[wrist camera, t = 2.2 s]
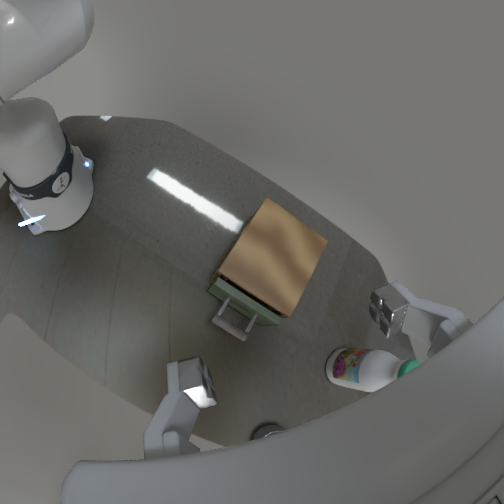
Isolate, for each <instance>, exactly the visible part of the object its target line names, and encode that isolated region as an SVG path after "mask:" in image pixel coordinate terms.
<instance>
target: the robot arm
mask: <svg viewBox="0 0 504 504" xmlns="http://www.w3.org/2000/svg"><path fill="white" fill-rule="evenodd" d="M93 25H94V10H93V6H92V4H91V2H90V0H0V168H1V169H2V170H3V172H4V173H3V175H4V176H5V177H6V179H7V180H8V181H10V186H9V190H10V192H11V193H10V194H9V196H10V198H11V199H12V200H13V202H14V203H16V205H17V207H18V209H19V211H20V213H21V215H22V216H23V218H24V220H25V221H24V222H21V223H19V226H24V225H26V224H27V226H28V227H29V229H30V231H31V232H32V233H33V234H34V235H38V234H40V233H43V232H45V231H48V230H53V231H55V230H62V229H65V228H67V227H69V226H71V225H73V224H74V223H75V222H77V221H78V220H79V219H80V218H81V217H82V216H83V215H84V213H85V212H86V210H87V209H88V207H89V205H90V203H91V200H92V196H93V181H92V172H93V168H94V163H93V161H92V160H91V159H89V158H86V157H84V156H83V155H82V153H81V151H80V149H79V147H77V146H76V147H75V146H73V145H71V143H70V141H69V139H68V138H67V136H66V135H65V133H64V132H63V131H62V130H61V127H60V125H59V122H58V119H57V117H56V114H55V111H54V109H53V107H52V106H51V105H50V104H49V103H48V102H46V101H44V100H42V99H39V98H34V97H29V98H23V99H17V100H9V99H10V98H11V97H13V96H14V95H16V94H17V93H19V92H20V91H21V90H23V89H24V88H26V87H27V86H29V85H30V84H32V83H34V82H35V81H37V80H39V79H40V78H42V77H43V76H45V75H47V74H49V73H50V72H52V71H53V70H55V69H56V68H57V67H59V66H60V65H61V64H63V63H64V62H66V61H67V60H68V59H69V58H71V57H73V56H74V55H75V54H76V53H78V52H80V51H81V50H82V49H83V48H84V47H85V45H86V43H87V42H88V40H89V38H90V35H91V32H92V29H93ZM33 223H34V225H33ZM32 225H33V226H32ZM370 299H371V300H372V302H371V303H370V305H369V312H370V315H371V317H372V319H373V320H374V322H375V323H378V324H380V329H381V330H382V332H383V333H384V334H385V335H386V337H387V338H388V337H390V336H392V335H394V334H396V333H398V332H399V331H401V332H403V333H405V334H407V335H410V336H412V337H414V338H416V339H418V340H420V341H423V342H425V343H427V344H429V345H431V347H430V349H429V351H428V354H427V356H428V357H429V359H428V360H426V361H425V362H423V363H422V364H420V365H419V366H417V367H415V368H414V369H412V370H411V371H409V372H408V373H406V374H404V375H403V376H401V377H399V378H398V379H396V380H394V381H393V382H391V383H389V384H387V385H386V386H384V387H382V388H380V389H378V390H376V391H375V392H373V393H371V394H369V395H367V396H365V397H363V398H361V399H359V400H357V401H355V402H353V403H351V404H349V405H347V406H344V407H342V408H340V409H338V410H336V411H333V412H331V413H329V414H326V415H324V416H322V417H319V418H317V419H314V420H312V421H309V422H307V423H304V424H301V425H299V426H296V427H293V428H290V429H287V430H284V431H282V432H278V433H275V434H272V435H269V436H266V437H262V438H259V439H256V440H252V441H248V442H245V443H241V444H237V445H233V446H228V447H224V448H219V449H215V450H210V451H204V452H200V448H198V447H197V446H195V445H194V444H192V443H191V442H189V438H190V435H191V433H192V430H193V428H194V425H195V422H196V420H197V417H198V414H199V412H200V409H201V408H205V407H209V406H213V405H216V404H217V400H216V395H215V391H214V390H213V389H212V385H213V380H212V376H211V373H210V371H209V369H208V367H207V365H204V363H203V359H202V358H201V356H195V357H191V358H187V359H183V360H179V361H175V362H171V363H168V364H167V384H168V394H166V395H165V396H164V398H163V400H162V401H161V403H160V405H159V407H158V408H157V410H156V412H155V414H154V416H153V417H152V419H151V421H150V423H149V424H148V426H147V428H146V430H145V431H144V433H143V441H144V442H143V443H144V458H145V459H143V460H125V461H124V460H122V461H95V460H80V461H78V462H77V463H76V464H75V465H74V466H73V468H72V469H71V470H70V472H69V473H68V474H67V476H66V477H65V479H64V481H63V483H62V488H61V504H504V297H503V298H502V299H501V300H500V301H499V302H498V303H497V304H496V305H495V306H494V307H493V308H491V309H490V310H489V311H488V312H487V313H486V314H485V315H484V316H483V317H482V318H480V319H479V320H478V321H477V322H476V323H475V324H474V325H473V324H472V323H471V322H470V320H469V319H467V318H466V316H465V315H463V313H462V312H460V311H459V310H458V309H455V308H452V307H449V306H445V305H442V304H439V303H435V302H432V301H429V300H425V299H422V298H419V299H417V298H416V297H415V296H414V295H413V294H412V293H411V292H410V291H409V290H408V289H407V288H406V287H405V286H404V285H403V284H402V283H401V282H400V281H398V280H396V281H394V282H392V283H390V284H387V285H385V286H383V287H381V288H379V289H377V290H375V291H373V292H372V293H371V294H370Z"/></svg>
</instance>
